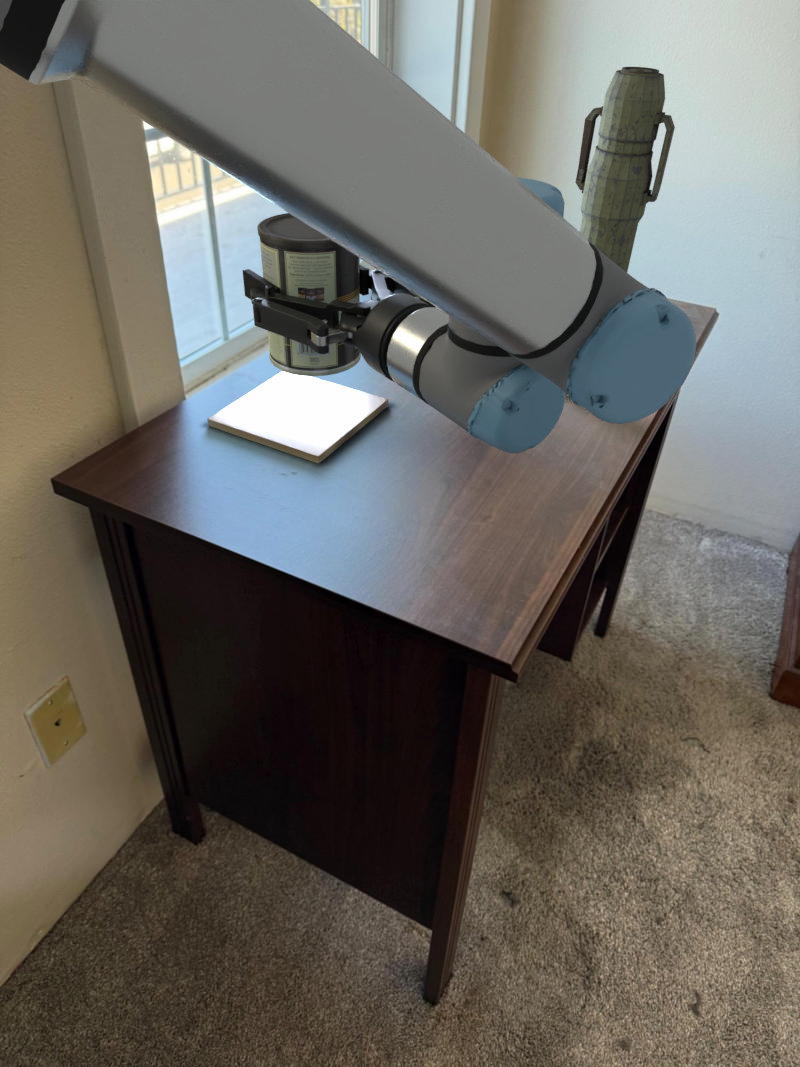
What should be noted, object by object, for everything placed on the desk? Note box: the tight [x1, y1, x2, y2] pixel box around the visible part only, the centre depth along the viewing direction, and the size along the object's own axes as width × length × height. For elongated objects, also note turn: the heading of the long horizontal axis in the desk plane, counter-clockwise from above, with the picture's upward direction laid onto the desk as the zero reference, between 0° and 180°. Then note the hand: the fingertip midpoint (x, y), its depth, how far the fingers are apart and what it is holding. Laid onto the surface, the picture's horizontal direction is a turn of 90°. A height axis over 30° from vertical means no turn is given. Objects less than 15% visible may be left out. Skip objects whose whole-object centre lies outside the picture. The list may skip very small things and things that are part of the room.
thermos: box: [575, 66, 676, 273], centre depth 106 cm, size 9×12×35 cm
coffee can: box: [256, 212, 362, 377], centre depth 79 cm, size 10×10×14 cm
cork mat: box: [206, 370, 389, 465], centre depth 92 cm, size 16×16×1 cm
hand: (291, 273), depth 81 cm, fingers closed on coffee can, 10 cm apart
